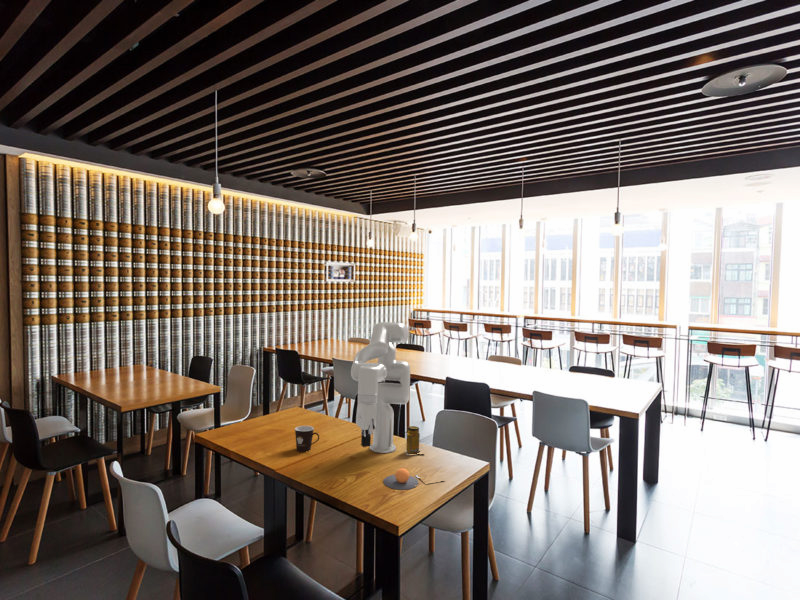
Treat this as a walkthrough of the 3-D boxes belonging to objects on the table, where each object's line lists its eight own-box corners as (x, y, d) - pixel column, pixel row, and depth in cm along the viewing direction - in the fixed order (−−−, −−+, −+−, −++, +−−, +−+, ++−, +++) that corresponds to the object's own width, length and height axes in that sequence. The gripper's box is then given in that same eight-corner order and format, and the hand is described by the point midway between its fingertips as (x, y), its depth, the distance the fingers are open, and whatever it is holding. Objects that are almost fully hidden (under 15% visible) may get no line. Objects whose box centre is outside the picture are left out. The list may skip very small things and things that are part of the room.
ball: (396, 482, 172) (390, 472, 170) (406, 473, 174) (400, 463, 173) (403, 488, 167) (397, 478, 166) (414, 478, 170) (408, 468, 168)
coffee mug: (290, 449, 203) (291, 427, 203) (306, 445, 209) (307, 424, 209) (304, 456, 194) (305, 434, 194) (320, 452, 200) (321, 430, 200)
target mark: (377, 477, 174) (377, 477, 174) (408, 472, 180) (408, 472, 180) (392, 492, 161) (392, 491, 161) (425, 486, 167) (425, 485, 167)
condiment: (404, 450, 207) (405, 425, 207) (422, 450, 208) (423, 425, 208) (406, 455, 200) (407, 429, 200) (424, 455, 201) (425, 429, 201)
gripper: (351, 394, 172) (350, 441, 172) (365, 403, 158) (363, 453, 158) (369, 393, 175) (367, 439, 175) (384, 402, 161) (382, 451, 161)
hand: (365, 445), depth 167 cm, fingers closed
